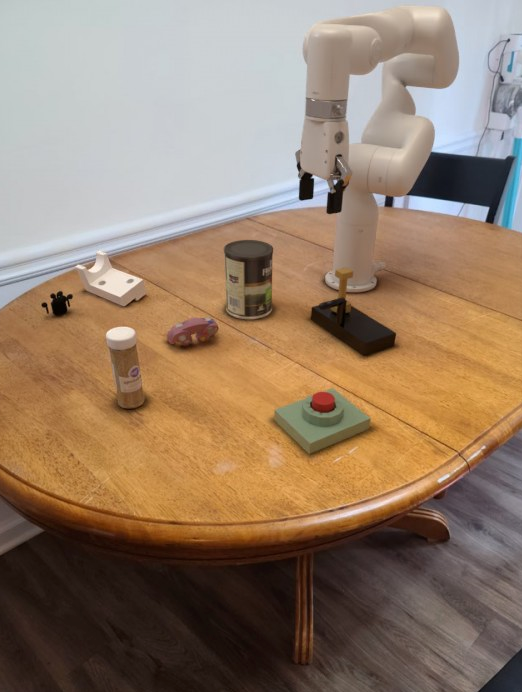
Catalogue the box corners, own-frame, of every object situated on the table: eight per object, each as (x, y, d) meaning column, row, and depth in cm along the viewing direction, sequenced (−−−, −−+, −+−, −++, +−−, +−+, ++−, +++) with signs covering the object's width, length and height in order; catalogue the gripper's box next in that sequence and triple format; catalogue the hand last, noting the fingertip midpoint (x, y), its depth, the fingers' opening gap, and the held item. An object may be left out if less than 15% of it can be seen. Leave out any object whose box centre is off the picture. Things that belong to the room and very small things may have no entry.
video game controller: (171, 355, 111) (174, 335, 106) (164, 337, 113) (166, 316, 107) (218, 345, 115) (223, 324, 109) (210, 327, 117) (214, 306, 111)
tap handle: (341, 306, 121) (345, 266, 115) (350, 311, 119) (354, 271, 113) (330, 309, 119) (333, 269, 114) (339, 315, 117) (343, 274, 112)
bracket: (88, 293, 132) (75, 266, 126) (110, 277, 135) (98, 250, 130) (125, 309, 126) (113, 282, 120) (147, 292, 129) (137, 264, 124)
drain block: (332, 398, 99) (333, 379, 96) (369, 429, 92) (372, 409, 90) (274, 420, 93) (274, 400, 91) (309, 454, 86) (310, 434, 84)
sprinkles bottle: (135, 412, 94) (124, 342, 86) (112, 405, 95) (99, 335, 87) (150, 397, 97) (141, 328, 89) (127, 391, 98) (116, 323, 91)
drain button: (325, 397, 92) (325, 389, 91) (338, 409, 90) (339, 400, 89) (307, 404, 91) (307, 395, 90) (320, 416, 88) (321, 407, 87)
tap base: (339, 311, 126) (343, 274, 121) (394, 346, 114) (400, 307, 109) (291, 325, 120) (293, 287, 115) (344, 363, 108) (348, 323, 103)
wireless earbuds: (73, 307, 124) (69, 286, 121) (79, 311, 122) (75, 290, 120) (43, 317, 120) (38, 295, 117) (49, 321, 118) (44, 299, 115)
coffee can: (276, 301, 129) (277, 241, 121) (266, 322, 121) (267, 259, 112) (233, 296, 130) (231, 237, 122) (220, 316, 122) (217, 254, 114)
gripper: (372, 116, 97) (361, 215, 107) (316, 101, 109) (311, 192, 119) (336, 118, 94) (329, 221, 104) (283, 103, 105) (280, 197, 115)
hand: (319, 206), depth 111 cm, fingers open, 9 cm apart
